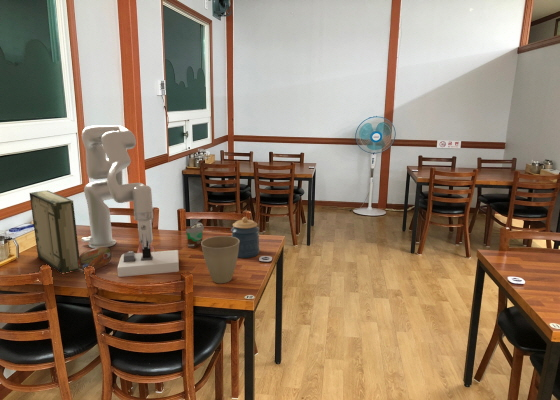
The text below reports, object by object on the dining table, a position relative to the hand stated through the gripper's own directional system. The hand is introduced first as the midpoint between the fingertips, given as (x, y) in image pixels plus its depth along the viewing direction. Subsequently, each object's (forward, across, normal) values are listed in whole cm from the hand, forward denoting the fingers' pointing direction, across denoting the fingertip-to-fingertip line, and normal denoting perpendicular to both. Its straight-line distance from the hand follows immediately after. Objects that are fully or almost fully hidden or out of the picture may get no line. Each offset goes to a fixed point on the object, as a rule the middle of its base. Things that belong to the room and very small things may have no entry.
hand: (146, 256), depth 187 cm
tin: (+5, +5, +22) cm, 23 cm away
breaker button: (+3, 0, +7) cm, 8 cm away
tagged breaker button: (+4, 0, 0) cm, 5 cm away
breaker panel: (+5, 0, -1) cm, 5 cm away
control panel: (+5, +15, +39) cm, 42 cm away
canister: (+5, +7, -43) cm, 44 cm away
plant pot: (+5, -21, -29) cm, 36 cm away
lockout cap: (+5, +15, +2) cm, 16 cm away
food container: (+5, +25, -22) cm, 34 cm away
